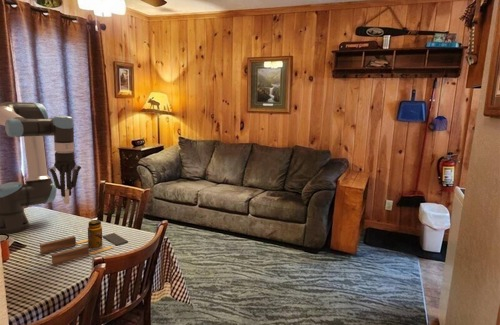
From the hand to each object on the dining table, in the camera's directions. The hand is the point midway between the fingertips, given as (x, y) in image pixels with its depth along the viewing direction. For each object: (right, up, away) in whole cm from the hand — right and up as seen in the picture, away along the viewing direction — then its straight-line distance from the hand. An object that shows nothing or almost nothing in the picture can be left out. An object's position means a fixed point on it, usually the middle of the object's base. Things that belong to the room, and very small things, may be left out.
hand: (66, 203), depth 150 cm
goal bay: (+10, -21, +5) cm, 24 cm away
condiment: (+10, -21, +5) cm, 24 cm away
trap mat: (+17, -20, +13) cm, 29 cm away
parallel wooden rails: (+2, -22, -4) cm, 22 cm away
